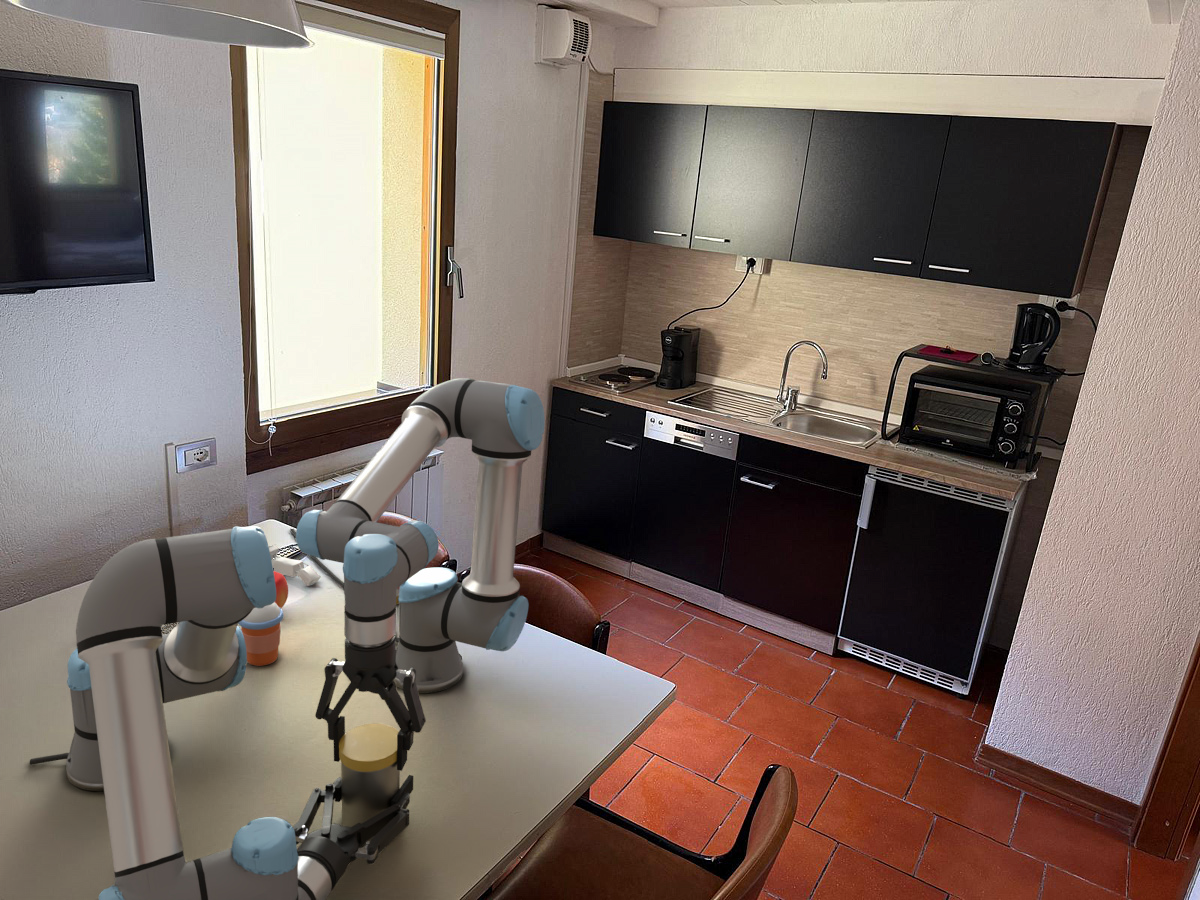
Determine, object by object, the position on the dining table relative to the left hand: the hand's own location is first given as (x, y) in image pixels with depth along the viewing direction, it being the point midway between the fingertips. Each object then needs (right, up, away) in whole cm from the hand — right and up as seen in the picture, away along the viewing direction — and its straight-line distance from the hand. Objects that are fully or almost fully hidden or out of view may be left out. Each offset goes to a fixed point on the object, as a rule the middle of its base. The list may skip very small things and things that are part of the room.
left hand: (383, 775), depth 142 cm
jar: (-2, -7, -2) cm, 8 cm away
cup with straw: (-36, +9, +41) cm, 56 cm away
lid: (0, +8, -7) cm, 11 cm away
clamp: (-45, +22, +78) cm, 93 cm away
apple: (-42, +15, +59) cm, 74 cm away
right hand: (-1, +5, -6) cm, 8 cm away
